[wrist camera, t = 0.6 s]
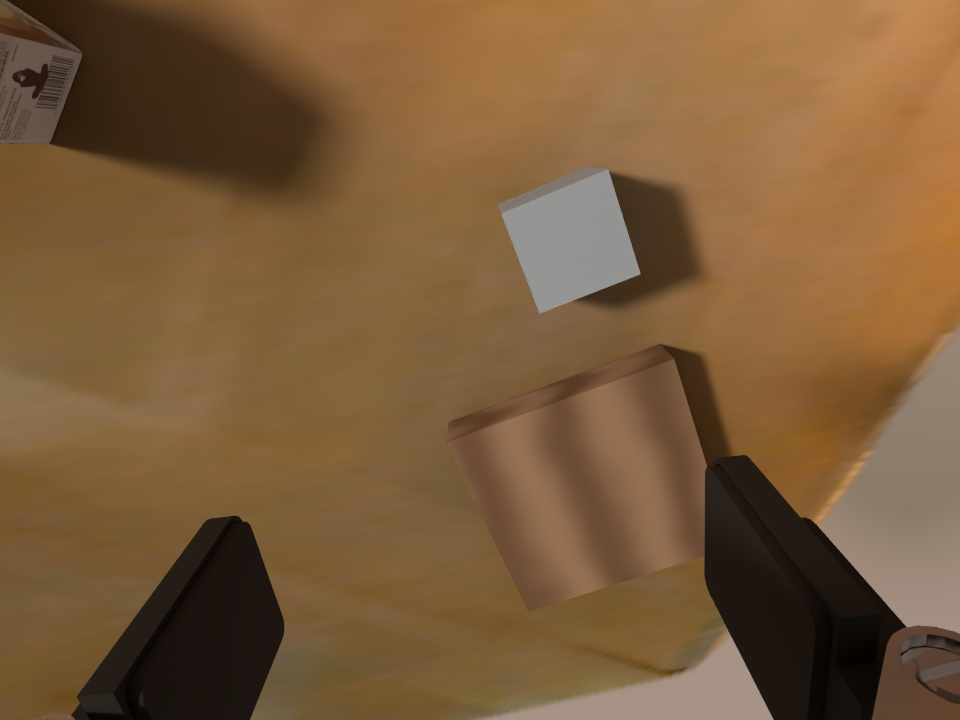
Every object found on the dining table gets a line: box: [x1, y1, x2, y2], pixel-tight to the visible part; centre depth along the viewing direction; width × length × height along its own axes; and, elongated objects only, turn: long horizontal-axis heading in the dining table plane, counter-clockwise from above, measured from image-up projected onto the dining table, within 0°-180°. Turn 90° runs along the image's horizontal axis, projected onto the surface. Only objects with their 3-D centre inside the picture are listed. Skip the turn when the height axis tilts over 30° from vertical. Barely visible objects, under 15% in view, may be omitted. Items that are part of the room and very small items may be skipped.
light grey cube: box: [498, 167, 641, 313], centre depth 33 cm, size 6×6×6 cm
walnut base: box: [447, 344, 707, 612], centre depth 41 cm, size 16×16×3 cm
